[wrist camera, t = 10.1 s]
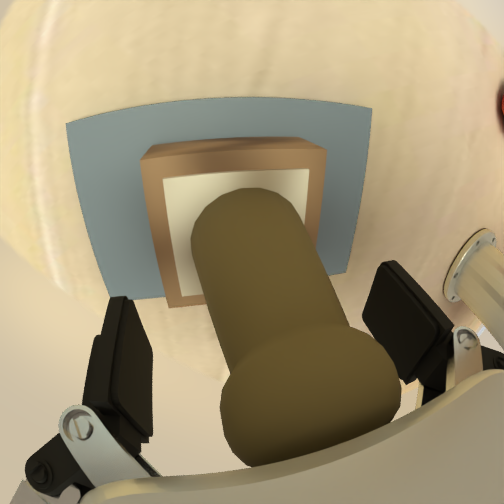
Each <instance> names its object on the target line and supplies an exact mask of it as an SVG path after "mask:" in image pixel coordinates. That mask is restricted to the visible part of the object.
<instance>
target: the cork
mask: <svg viewBox="0 0 504 504" xmlns="http://www.w3.org/2000/svg"><path fill="white" fill-rule="evenodd" d="M190 241H191V252H192V257H193V260H194V264H195V267H196V271H197V274H198V277H199V281H200V284H201V287H202V291H203V294H204V297H205V300H206V303H207V307H208V310H209V313H210V316H211V319H212V322H213V325H214V328H215V331H216V334H217V337H218V340H219V343H220V346H221V348H222V351H223V354H224V357H225V360H226V363H227V365H228V368H229V371H230V376H229V378H228V380H227V381H226V383H225V385H224V387H223V389H222V394H221V402H220V412H221V419H222V425H223V430H224V436H225V438H226V440H227V442H228V444H229V446H230V448H231V450H232V452H233V453H234V454H235V455H236V456H237V457H238V458H239V459H240V460H241V461H242V462H244V463H245V464H246V465H247V466H250V467H257V466H262V465H267V464H272V463H277V462H281V461H285V460H289V459H293V458H297V457H300V456H304V455H307V454H311V453H314V452H317V451H321V450H324V449H327V448H330V447H333V446H336V445H338V444H341V443H344V442H347V441H349V440H352V439H354V438H357V437H359V436H362V435H364V434H367V433H369V432H371V431H373V430H376V429H378V428H380V427H382V426H384V425H387V424H389V423H390V422H391V421H392V419H393V418H394V416H395V414H396V412H397V411H398V409H399V407H400V402H401V389H402V388H401V384H400V381H399V377H398V373H397V370H396V368H395V365H394V362H393V361H392V359H391V358H390V356H389V355H388V353H387V352H386V350H385V349H384V347H383V346H382V345H381V344H379V343H378V342H377V341H376V340H375V339H374V338H372V337H371V336H370V335H369V334H367V333H364V332H362V331H360V330H358V329H355V328H352V327H350V326H349V323H348V321H347V318H346V316H345V314H344V311H343V309H342V307H341V304H340V302H339V300H338V297H337V295H336V293H335V290H334V288H333V286H332V284H331V281H330V279H329V277H328V275H327V272H326V270H325V268H324V266H323V264H322V261H321V259H320V257H319V255H318V253H317V251H316V249H315V247H314V244H313V242H312V240H311V238H310V236H309V234H308V232H307V230H306V228H305V226H304V224H303V222H302V220H301V218H300V216H299V214H298V213H297V211H296V209H295V208H294V206H293V205H292V203H291V202H290V201H288V200H287V199H286V198H284V197H283V196H281V195H280V194H279V193H277V192H274V191H270V190H267V189H263V188H239V189H237V190H234V191H231V192H228V193H225V194H223V195H221V196H219V197H218V198H217V199H215V200H214V201H213V202H211V203H210V204H209V205H207V206H206V207H205V208H204V210H203V211H202V212H201V214H200V215H199V217H198V218H197V220H196V221H195V223H194V227H193V230H192V234H191V238H190Z"/></svg>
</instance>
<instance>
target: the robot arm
mask: <svg viewBox="0 0 504 504" xmlns="http://www.w3.org/2000/svg"><path fill="white" fill-rule="evenodd" d="M444 295H445V297H446V298H447V299H448V300H449V301H450V302H457V301H460V300H462V301H463V302H464V303H465V304H466V305H467V306H468V307H469V308H470V310H471V311H472V312H473V313H474V314H475V315H476V316H477V318H478V319H479V320H480V321H481V322H482V323H483V325H484V326H485V327H486V328H487V329H488V331H489V332H490V333H491V334H492V336H493V337H494V338H495V339H496V341H497V342H498V343H499V345H500V346H501V347H502V348H503V350H504V254H503V253H501V252H500V251H499V250H498V249H497V248H496V236H495V234H494V233H493V232H492V231H490V230H488V229H483V230H481V231H479V232H478V233H476V234H475V235H474V236H473V237H472V238H471V239H470V240H469V241H468V242H467V243H466V244H465V246H464V247H463V248H462V250H461V251H460V253H459V254H458V256H457V257H456V259H455V261H454V263H453V264H452V266H451V268H450V271H449V273H448V275H447V278H446V281H445V285H444ZM362 318H363V321H364V323H365V324H366V326H367V327H368V329H369V330H370V332H371V333H372V335H373V337H374V338H375V340H376V341H377V342H378V343H379V344H381V345H382V346H383V347H384V349H385V350H386V352H387V353H388V355H389V356H390V358H391V359H392V361H393V362H394V365H395V368H396V370H397V373H398V377H399V378H400V379H401V380H403V381H404V383H405V384H406V385H407V384H409V383H411V382H413V381H415V380H416V379H417V378H418V380H419V387H418V394H417V401H416V407H415V410H414V411H413V412H410V413H409V414H407V415H405V416H403V417H401V418H399V419H397V420H395V421H393V422H391V423H389V424H387V425H384V426H382V427H380V428H378V429H376V430H373V431H371V432H369V433H367V434H364V435H362V436H359V437H357V438H354V439H352V440H349V441H347V442H344V443H341V444H338V445H336V446H333V447H330V448H327V449H324V450H321V451H317V452H314V453H311V454H307V455H304V456H300V457H297V458H293V459H289V460H285V461H281V462H277V463H272V464H267V465H262V466H257V467H252V468H246V469H240V470H233V471H225V472H218V473H209V474H198V475H183V476H166V477H163V476H162V475H161V474H160V473H159V472H158V471H157V470H156V469H155V468H154V467H152V465H151V464H150V463H149V462H148V461H147V460H146V459H145V458H144V457H143V456H142V455H141V454H140V452H141V443H149V437H152V435H153V417H152V416H153V414H152V370H153V369H152V368H153V352H152V347H151V345H150V343H149V340H148V338H147V335H146V333H145V330H144V328H143V325H142V323H141V320H140V318H139V315H138V312H137V310H136V307H135V304H134V302H133V300H132V299H130V300H128V297H127V296H116V297H111V298H110V300H109V303H108V307H107V311H106V315H105V319H104V323H103V327H102V331H101V335H96V337H95V338H94V341H93V345H92V350H91V355H90V359H89V365H88V370H87V376H86V381H85V387H84V393H83V400H82V405H73V406H71V407H69V408H67V409H66V410H65V411H64V412H63V413H62V415H61V417H60V420H59V432H60V433H58V434H57V435H56V436H55V437H54V438H52V439H51V440H50V441H49V442H48V443H46V444H45V445H44V446H43V447H42V448H40V449H39V450H38V451H37V452H35V453H34V454H33V455H32V456H31V457H30V458H29V459H28V460H27V462H26V465H25V474H26V478H27V479H26V481H24V480H22V481H21V483H20V485H19V487H18V489H17V491H16V493H15V495H14V497H13V499H12V501H11V503H10V504H504V354H503V353H501V352H499V351H496V350H493V349H490V348H487V347H484V346H481V345H480V340H479V338H478V336H477V334H476V333H475V332H474V331H473V330H471V329H470V328H467V327H463V326H461V327H458V328H456V329H455V331H454V332H452V331H451V330H452V328H453V327H454V324H453V323H452V322H451V321H450V320H449V318H448V317H447V316H446V315H445V314H444V312H443V311H442V310H441V309H440V308H439V307H438V305H437V304H436V303H435V302H434V301H433V300H432V299H431V297H430V296H429V295H428V294H427V293H426V292H425V291H424V290H423V289H422V288H421V286H420V285H419V284H418V283H417V282H416V281H415V280H414V279H413V278H412V277H411V276H410V275H409V274H408V273H407V272H406V271H405V270H404V268H403V267H402V266H401V265H400V264H399V263H398V262H397V261H395V260H392V261H386V262H382V263H381V264H380V266H379V267H378V269H377V272H376V275H375V278H374V281H373V284H372V287H371V290H370V293H369V296H368V299H367V302H366V304H365V307H364V310H363V313H362Z"/></svg>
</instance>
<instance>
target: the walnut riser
mask: <svg viewBox="0 0 504 504" xmlns="http://www.w3.org/2000/svg"><path fill="white" fill-rule="evenodd" d="M326 157H327V149H325V148H322V147H320V146H318V145H316V144H314V143H312V142H309V141H307V140H305V139H303V138H300V137H234V138H216V139H203V140H192V141H182V142H173V143H165V144H157V145H152V146H151V147H150V148H149V149H148V150H147V152H146V153H145V154H144V155H143V157H142V158H141V159H140V167H141V174H142V181H143V188H144V195H145V201H146V207H147V213H148V218H149V224H150V229H151V234H152V239H153V244H154V249H155V253H156V258H157V263H158V267H159V271H160V275H161V280H162V284H163V288H164V292H165V296H166V299H167V303H168V307H169V308H175V307H185V306H194V305H203V304H207V303H206V300H205V297H204V294H203V291H202V287H201V284H200V281H199V277H198V274H197V271H196V267H195V264H194V260H193V257H192V252H191V241H190V238H191V234H192V230H193V227H194V223H195V221H196V220H197V218H198V217H199V215H200V214H201V212H202V211H203V210H204V208H205V207H206V206H207V205H209V204H210V203H211V202H213V201H214V200H215V199H217V198H218V197H219V196H221V195H223V194H225V193H228V192H231V191H234V190H237V189H239V188H263V189H267V190H270V191H274V192H277V193H279V194H280V195H281V196H283V197H284V198H286V199H287V200H288V201H290V202H291V203H292V205H293V206H294V208H295V209H296V211H297V213H298V214H299V216H300V218H301V220H302V222H303V224H304V226H305V228H306V230H307V232H308V234H309V236H310V238H311V240H312V242H313V244H314V247H315V249H316V243H317V236H318V229H319V221H320V213H321V205H322V197H323V188H324V178H325V168H326Z"/></svg>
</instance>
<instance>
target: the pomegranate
mask: <svg viewBox="0 0 504 504" xmlns="http://www.w3.org/2000/svg"><path fill="white" fill-rule="evenodd" d="M501 106H502V111H503V114H504V94H503V97H502V103H501Z"/></svg>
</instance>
